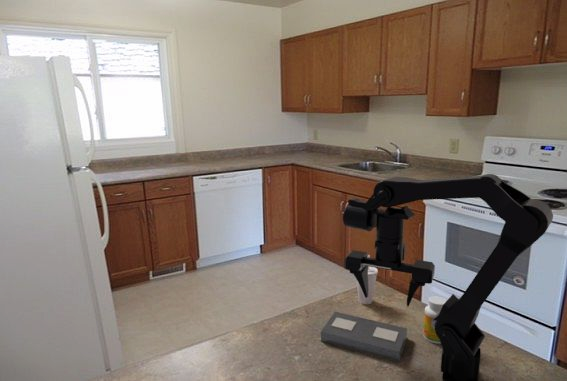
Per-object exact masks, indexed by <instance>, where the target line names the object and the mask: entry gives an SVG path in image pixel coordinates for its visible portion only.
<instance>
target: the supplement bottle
mask: <svg viewBox="0 0 567 381" xmlns="http://www.w3.org/2000/svg"><path fill="white" fill-rule="evenodd" d="M446 301H447V299H446V298H444V297H441V296H436V295H435V296H430V297H429V298H428V302H427V303H428V304H427V305H426V306H425V308H424V313H423V315H424V318H423V332H422V335H423V337H424V339H425V340H426V341H428V342H429V343H433V344H438V345H439V344H440V345H441V342H440V339H439V338H438V336H437V335H436V333H435V330H434V325H435V323H436V321H435V320H433V319H434V318H435V316H436V315H437V314H438V313H439V312H440V311H441V308H442V306H443V305H444V303H445V302H446Z"/></svg>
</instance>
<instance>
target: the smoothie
mask: <svg viewBox="0 0 567 381" xmlns="http://www.w3.org/2000/svg"><path fill="white" fill-rule="evenodd" d="M368 258H371V256H370V254H368ZM378 274H379V270H378V268H375V267H370V266H368V288H369V291H368V297H367V298H365V296H364V293H363V291H362V289H361V287H360V284H359V282H358V281H357V280H356V286H357V288H356V289H357V295H358V296H357V297H358V302H359V304H362V305H371V304H373V298H374V293H375V287H376V281H377V276H378Z"/></svg>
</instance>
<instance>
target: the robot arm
mask: <svg viewBox="0 0 567 381" xmlns="http://www.w3.org/2000/svg"><path fill="white" fill-rule="evenodd" d="M474 198H475V199H478V198H479V199H481V200H482V201H483V202H484V203H485V204H487V206H488V207H489V208H490V209H491V210H492V211H493V213H494V214H495V215H496V216H498V218H499V219H501V220H503V221H504V224H503V226H502V229H501V231H500V232H501V233H500V236H499V237H498V238H499V239H498V242H497V244H496V246H495V248H494V249H493V250H492V251H491V253H490V254H489V256H488V258H487V259H486V260H485V262H484V263H483V264H482V266H481V267H480V270H479V271H478V272H477V273H476V275H475V276H474V278H473V279H472V281H470V283H469V285H468V287H466V290H465V291H464V292H463V294H462V295H461V296H460V297H459V298H458V297H457V296H456V295H455V294H451V295H450V296H449V297H448V299H446V302H445V303H444V305H443V306H442V308H441V311H440V312H439V313H438V314H437V315H436V316H435V318H434V319H433V320H435V321H436V323H435V325H434V330H435V333H436V335H437V336H438V338H439V339H440V342H441V344H440V345H441V348H442V349H441V359H440V361H441V362H440V372H441V373H442V378H441V379H442V381H480V366H481V354H482V352H481V349H482V348H481V347H480V346H481V345H482V343H483V341H484V339H485V338H486V335H485V333H484V332H483V331H482V330H481V329H480V328H479V326H478V325H477V324H476V321H477V319H478V316H479V314H480V311H481V307H482V305H483V304H484V303H485V301H487V299H488V298H489V296H490V295H491V293H492V292H493V290H495V288H496V287H497V285H498V284H499V282H500V281H501V280H502V278H503V277H504V276H505V274H506V273H507V271H508V270H509V268H511V266H512V264H513V263H514V262H515V260H516V259H517V258H518V257H519V256H520V255H521V254H523V253H524V252H525V251H526V250H527V249H529V248H530V247H531V246H532V245H533V244H534V243H536V242H537V241H538V240H539V239H540V238H541V237H542V236H544V234H545V233H546V232H547V230H548V229H549V227H550V225H551V223H552V221H553V218H554V213H553V211H552V208H551V207H550V206H549V205H548V204H547V203H546V202H544V201H542V200H540V199H537V198H535V199H534V198H531V197H530V196H528V195H527V194H525V193H524V192H523V191H521V190H520V189H517V188H516V187H514V186H512V185H510V184H508V183H507V182H506V181H504V180H503V179H502V178H500V177H499V176H498V175H496V174H493V173H486V174H483V175H474V176H461V177H449V178H433V179H417V178H412V177H404V176H392V177H390V178H386V179H383V180H380V181H378V182H377V183H376V184H375V186H374V188H373V194H371V196H370V197H369V198H368V199H367V200H361V199H359V198H356V197H355V198H350V199H348V204H347V206H346V207H345V209H344V213H343V215H342V222H343V224H344V226H345V227H347V228H350V229H355V230H360V231H365V232H371V231H372V230H374V229H375V228H376V230H375V231H376V232H375V233H376V235H375V240H374V249H375V258H374V257H370V258H368V255H369V254H368V252H367V251H362V250H354V249H353V250H351V251H350V252H349V253H348V254H347V255H346V256H345V257H344V260H343V267H344V269H345V270H349V274H352V275H354V277H355V279H356V282H357V281H358V282H359V284H360V287H361V289H362V291H363V293H364V296H365V298H367V297H368V291H369V288H368V266H370V267H375V268H376V269H383V270H387V271H394V272H400V273H406V274H411V279H410V281H409V286H408V292H407V298H406V307H410V304H411V302H412V299H413V297H414V295H415V293H416V292H417V290H418V289H419V287H425V286H426V284H428V285H431V284H432V283H433V280H434V278H435V277H434V276H435V269H436V266H435V264H434V263H433V262H432V261H428V260H427V261H426V260H421V259H415V261H414V264H412V263H404V262H405V261H404V260H405V258H406V251H407V250H406V249H407V247H406V246H407V243H406V242H405V243H404V229H405V220H409V219H412V218H414V217H415V216H416V215H415V212H413V210H411V208H409V206H408V205H404V204H409V203H412V202H418V201H428V200H432V201H433V200H454V199H474ZM401 205H404V206H402V207H401V208H399V207H396V206H401ZM381 207H382V208H381ZM383 208H386V209H383ZM403 261H404V262H403Z"/></svg>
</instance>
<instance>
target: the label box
mask: <svg viewBox="0 0 567 381" xmlns="http://www.w3.org/2000/svg"><path fill="white" fill-rule="evenodd" d="M407 339H408V328H407V327H402V326H399V325H395V324H390V323H387V322H386V323H385V322H381V321H377V320H372V319H369V318H366V317H365V318H363V317H359V316H355V315H351V314H347V313H342V312H337V311H334V312H333V314H332V315H331V317H330V318H329V319H328V320H327V322H326V324H325V325H324V326H323V327H322V329H321V330H320V341H321V342H324V343H327V344H331V345H335V346H338V347H342V348H346V349H349V350H353V351H357V352H360V353H362V354H363V353H364V354H367V355H371V356H374V357H379V358H382V359H386V360H389V361H393V362H397V363H400V360H401V357H402V354H403V351H404V348H405V345H406V342H407Z"/></svg>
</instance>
